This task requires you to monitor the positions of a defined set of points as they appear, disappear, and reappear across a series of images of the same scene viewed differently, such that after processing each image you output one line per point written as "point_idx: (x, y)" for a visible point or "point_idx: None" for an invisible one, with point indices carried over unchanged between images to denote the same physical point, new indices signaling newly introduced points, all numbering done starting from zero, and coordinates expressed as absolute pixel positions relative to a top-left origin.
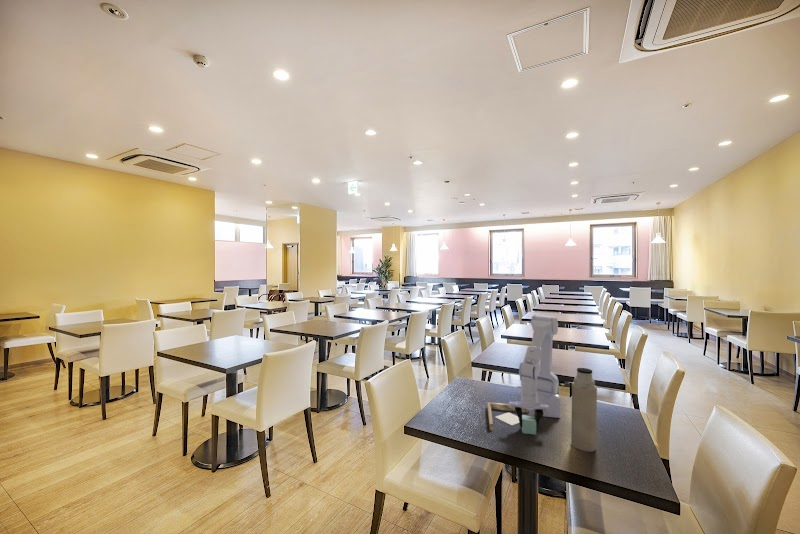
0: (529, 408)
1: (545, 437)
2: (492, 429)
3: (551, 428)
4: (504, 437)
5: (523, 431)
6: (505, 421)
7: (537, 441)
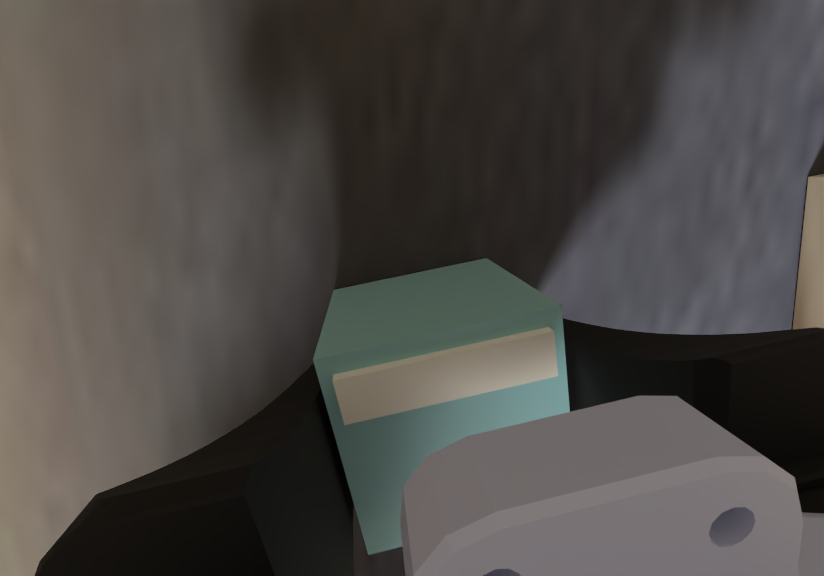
0: (654, 461)
1: (220, 268)
2: (821, 176)
3: None
4: (698, 41)
5: (483, 263)
6: None
7: (304, 109)
